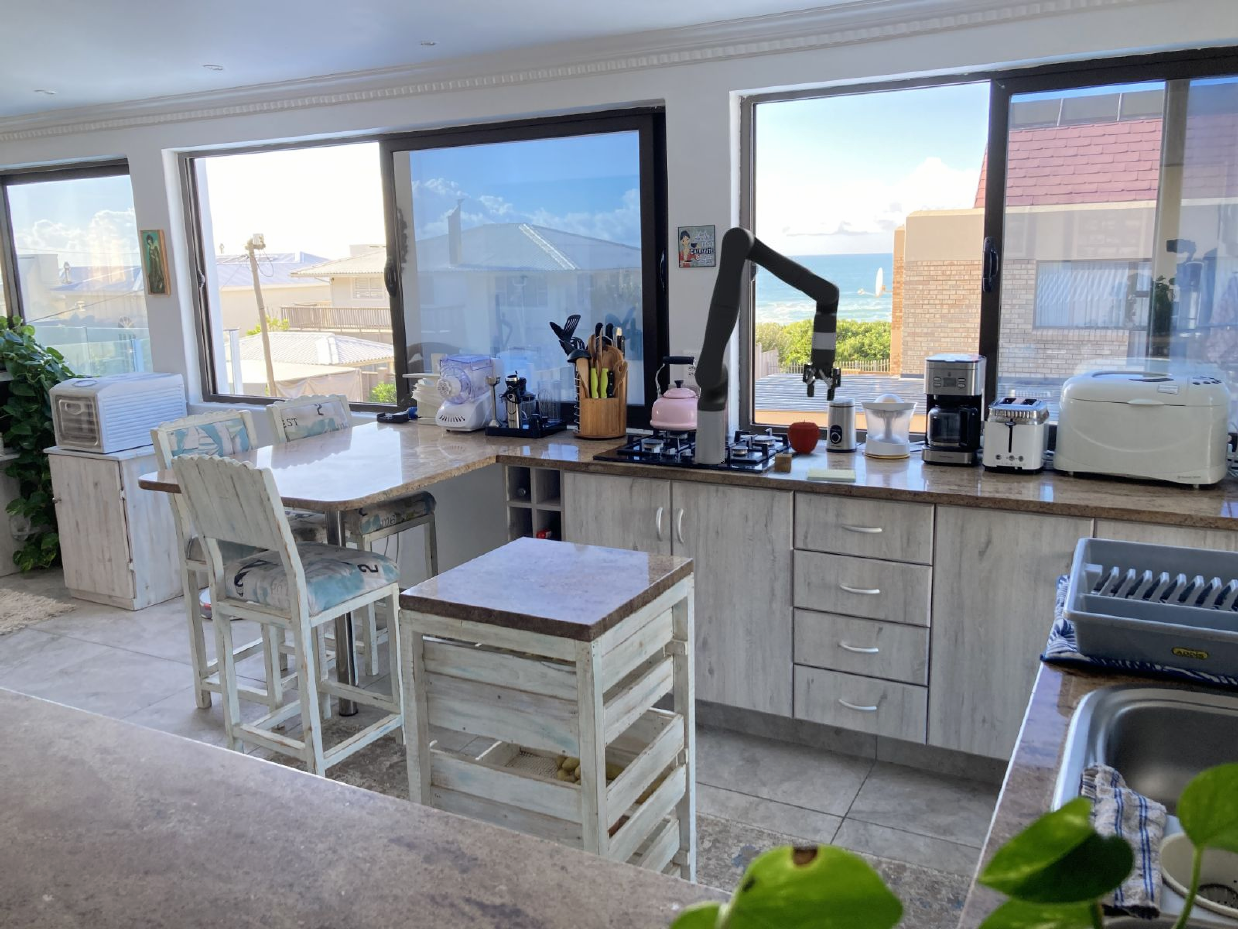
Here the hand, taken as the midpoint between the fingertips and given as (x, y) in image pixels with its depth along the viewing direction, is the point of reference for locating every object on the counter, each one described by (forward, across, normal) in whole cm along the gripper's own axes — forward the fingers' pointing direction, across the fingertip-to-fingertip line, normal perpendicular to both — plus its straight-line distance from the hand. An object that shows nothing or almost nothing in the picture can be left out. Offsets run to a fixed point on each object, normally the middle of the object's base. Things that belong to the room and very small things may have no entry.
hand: (820, 398), depth 304 cm
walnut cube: (+22, -3, -11) cm, 25 cm away
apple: (+23, -20, +14) cm, 33 cm away
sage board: (+22, +12, -5) cm, 25 cm away
